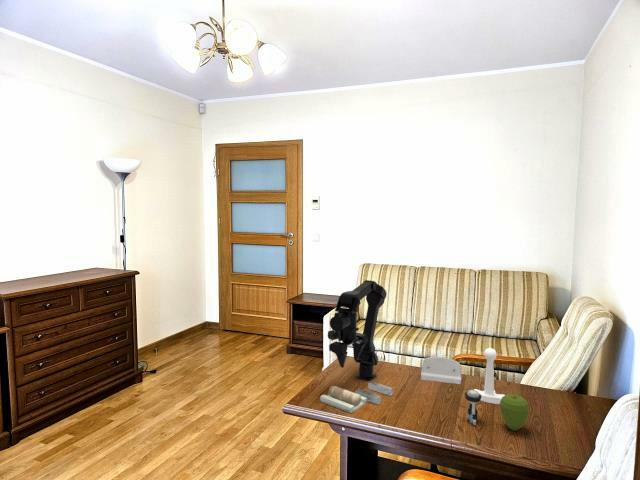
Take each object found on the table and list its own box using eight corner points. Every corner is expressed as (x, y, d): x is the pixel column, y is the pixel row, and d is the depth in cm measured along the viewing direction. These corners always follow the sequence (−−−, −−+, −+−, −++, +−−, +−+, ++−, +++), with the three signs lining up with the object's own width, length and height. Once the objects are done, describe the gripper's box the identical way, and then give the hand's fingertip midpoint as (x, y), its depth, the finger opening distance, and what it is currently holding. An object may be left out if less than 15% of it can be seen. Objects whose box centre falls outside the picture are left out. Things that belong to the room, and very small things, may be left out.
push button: (482, 427, 136) (483, 398, 135) (466, 425, 137) (466, 396, 136) (479, 417, 143) (479, 389, 142) (462, 415, 144) (463, 387, 143)
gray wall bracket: (420, 379, 174) (421, 354, 177) (420, 378, 178) (421, 354, 181) (461, 384, 169) (462, 359, 172) (461, 383, 173) (461, 359, 176)
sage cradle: (336, 392, 162) (336, 387, 162) (366, 402, 153) (366, 397, 153) (320, 401, 154) (320, 396, 154) (351, 413, 145) (351, 407, 145)
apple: (533, 430, 134) (535, 396, 133) (518, 438, 130) (520, 403, 129) (508, 419, 141) (510, 386, 141) (493, 426, 137) (495, 392, 136)
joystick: (472, 399, 156) (474, 347, 154) (475, 391, 163) (476, 342, 161) (504, 405, 151) (506, 352, 149) (505, 397, 158) (507, 346, 156)
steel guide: (370, 387, 166) (371, 381, 166) (392, 394, 160) (392, 388, 160) (355, 396, 158) (355, 390, 158) (378, 404, 152) (378, 398, 151)
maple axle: (328, 397, 155) (328, 387, 155) (335, 393, 158) (335, 383, 158) (354, 407, 148) (354, 396, 147) (361, 403, 151) (361, 392, 151)
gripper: (346, 316, 173) (346, 352, 174) (318, 326, 159) (318, 365, 160) (368, 321, 166) (368, 359, 167) (341, 332, 152) (341, 373, 153)
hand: (348, 363), depth 162 cm, fingers open, 9 cm apart
